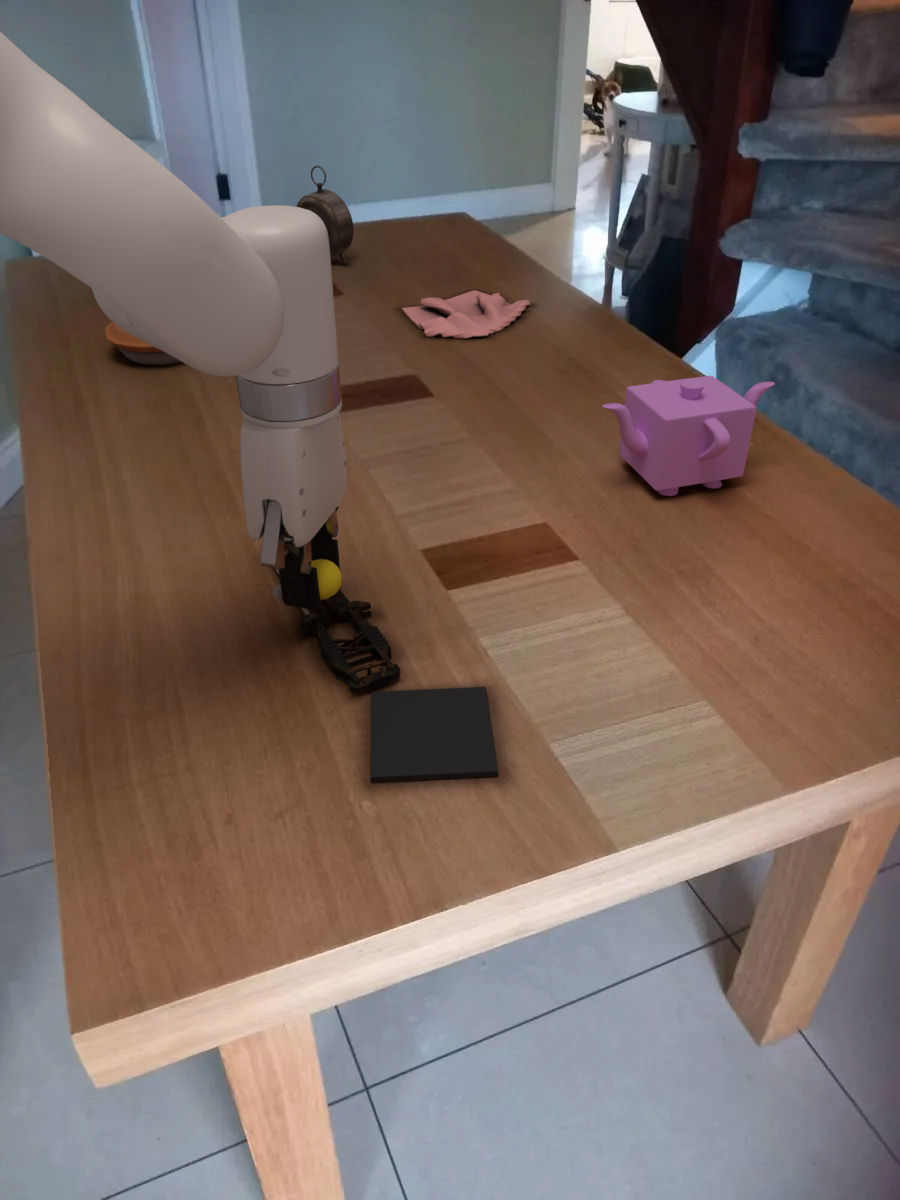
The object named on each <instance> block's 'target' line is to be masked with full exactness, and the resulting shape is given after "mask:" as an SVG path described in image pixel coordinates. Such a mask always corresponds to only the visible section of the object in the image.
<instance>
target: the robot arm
mask: <svg viewBox="0 0 900 1200" xmlns="http://www.w3.org/2000/svg"><path fill="white" fill-rule="evenodd" d="M0 234H1V235H3V236H5V237H6V238H9V239H11V240H13V241H15V242H17V243H19V244H20V245H22V246H25V248H28V249H30V250H31V251H33V252H35V253H36V254H38V255H40V256H42V257H43V258H45V259H47V260H49V261H50V262H52V263H53V264H55V265H56V266H58V267H60V268H61V269H63V270H64V271H65V272H67V273H68V274H70V275H71V276H73V277H74V278H76V279H77V280H79V281H81V282H82V283H83V284H85V285H86V286H87V287H89V288H91V290H92V293H93V297H94V299H95V301H96V303H97V305H98V306H99V308H100V309H101V311H102V312H103V313H104V314H105V316H106V318H108V319H109V320H110V321H111V323H112V322H113V323H115V324H116V325H117V326H119V327H120V328H121V329H123V330H124V331H126V332H127V333H129V334H131V335H133V336H135V337H137V338H138V339H140V340H142V341H144V342H146V343H147V344H149V345H151V346H153V347H155V348H157V349H160V350H162V351H164V352H165V353H167V354H169V355H171V356H173V357H175V358H176V359H178V360H180V361H182V362H181V363H184V364H185V365H187V366H188V367H190V368H192V369H194V370H195V371H197V372H201V373H204V374H206V375H209V376H214V377H215V376H216V377H235V382H236V389H237V395H238V402H239V407H240V408H239V409H240V413H241V416H242V418H243V421H242V422H241V426H240V450H239V452H240V475H241V476H240V477H241V488H242V501H243V509H244V518H245V525H246V530H247V535H248V538H249V539H250V540H251V541H260V540H261V539H262V546H261V554H260V565H261V566H262V567H267V568H271V569H275V570H276V569H277V570H279V574H278V577H279V583H280V584H279V585H281V591H282V599H283V601H282V602H283V604H284V605H285V606H287V607H294V608H299V609H301V608H304V609H310V610H318V608H319V607H320V605H321V603H322V602H321V600H320V593H319V584H318V575H317V568H314V567H312V561H314V560H318V559H326V560H329V561H331V562H333V563H334V564H335V565H336V566H337V567H338V568H339V570H340V571H341V563H340V551H339V542H338V539H336V538H337V537H338V535H339V530H340V529H339V527H340V526H339V522H338V516H337V513H338V510H339V505H340V503H341V502H342V500H343V499H344V498H345V495H346V493H347V490H348V489H347V487H348V470H347V469H348V468H347V467H348V466H347V456H346V447H345V439H344V432H343V425H342V419H341V413H340V412H341V410H342V408H343V400H342V399H343V398H342V386H341V375H340V362H339V351H338V339H337V326H336V315H335V313H336V311H335V299H334V288H333V287H334V285H333V275H332V273H333V272H332V260H331V259H332V258H331V257H330V246H329V238H328V232H327V229H326V227H325V225H324V222H323V221H322V220H321V218H320V217H319V216H318V215H316V214H315V213H314V212H312V211H310V210H307V209H303V208H300V207H296V206H293V205H283V204H282V205H281V204H280V205H279V204H278V205H277V204H275V205H271V204H270V205H258V206H252V207H251V206H250V207H246V208H242V209H238V210H236V211H234V212H232V213H229V214H227V215H226V216H220V215H219V214H217V212H216V211H215V210H213V209H212V208H211V207H210V206H209V205H208V204H207V203H206V202H205V201H204V200H203V199H202V198H201V197H200V196H199V195H198V194H197V193H196V192H194V191H193V189H191V188H190V187H189V186H188V185H187V184H186V183H184V182H183V181H182V180H181V179H180V178H179V177H177V176H176V175H175V174H174V173H172V172H171V171H170V170H169V169H168V168H167V167H166V166H164V165H163V164H162V163H161V162H159V161H158V160H157V159H155V157H153V156H152V155H150V154H149V152H147V151H146V150H144V149H143V148H141V147H140V146H139V145H138V144H136V143H135V142H134V141H132V140H131V139H130V138H129V137H128V136H126V135H125V134H124V133H122V132H121V131H120V130H119V129H117V128H116V127H115V126H114V125H112V124H111V123H110V122H108V121H107V120H106V119H105V118H104V117H103V116H101V115H100V114H99V113H97V112H96V111H95V110H94V109H93V108H92V107H91V106H89V104H87V103H86V102H85V101H84V100H83V99H81V98H80V97H79V96H78V95H77V94H75V93H74V92H73V91H72V90H70V88H68V87H67V86H66V85H64V84H63V83H62V82H60V81H59V80H58V79H56V78H55V77H53V76H52V75H51V74H50V73H48V72H47V71H46V70H45V69H43V68H42V67H40V66H39V65H38V64H37V63H35V61H33V60H32V59H31V58H30V57H28V55H27V54H25V53H24V52H23V51H22V50H21V49H20V48H19V47H17V45H16V44H15V43H13V41H11V40H10V39H9V38H8V37H7V36H6V35H5V34H4V33H3V32H2V31H0ZM262 537H263V538H262ZM334 538H335V539H334ZM286 544H290V545H295V546H296V547H299V556H298V555H297V554H295V553H291V552H290V551H287V546H286ZM320 602H321V603H320Z"/></svg>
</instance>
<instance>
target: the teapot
mask: <svg viewBox="0 0 900 1200" xmlns="http://www.w3.org/2000/svg"><path fill="white" fill-rule="evenodd" d="M775 385H776V382H774V381H761V382H758V383H756V384H754V385H753V386H752V387H750V388H749V389H748V390H747V392H746V393H745V394H744V396H742V395H740V394H739V393H737V392H736V391H735V390H733V389H732V388H730V387H729V386H727V385H726V384H725V383H724V382H722V381H720V380H719V379H718V378H716V377H714V375H705V376H696V377H690V378H682V379H674V380H667V381H666V380H664V379H655V380H653V381H651V383H644V384H637V385H630V386H627V387H626V389H625V397H624V404H623V403H622V404H621V403H617V402H615V403H614V402H613V403H612V402H611V403H610V402H609V403H605V404H602V406H601V407H602V408H604V409H606V410H608V411H611V412H612V413H613V414H614V415H615V416H616V418H617V422H618V428H619V434H620V440H619V441H620V442H619V449H618V450H619V451H618V455H619V456H620V457H621V458H622V459H623V460H624V461H625V462H626V463H627V464H628V465H630V467H631V468H632V469H633V470H634V471H635V472H636V473H637V474H638V475H639V476H640V477H642V479H643V480H644V481H646V482H647V484H648V485H649V486H651V488H652V489H654V491H656V492H657V493H658V494H660V495H663V496H667V497H673V496H677V494H679V489H680V487H687V486H692V485H693V486H694V485H699V484H701V485H702V486H703V487H705V488H708V489H719V488H721V487H722V486H723V483H722V481H723V480H724V481H725V480H729V479H730V480H731V479H733V478H735V479H736V478H741V477H744V474H745V473H744V472H745V468H746V463H747V457H748V453H749V448H750V443H751V438H752V433H753V429H754V423H755V418H756V414H757V409H758V408H757V406H756V405H757V404H758V401H759V400H760V398H761V396H762V395H764V393H765V392H767V391H768V390H769V389H770V388H772V387H774V386H775Z"/></svg>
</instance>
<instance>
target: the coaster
mask: <svg viewBox="0 0 900 1200" xmlns="http://www.w3.org/2000/svg"><path fill="white" fill-rule="evenodd" d="M487 691H488V689H487V687H486V686H473V687H472V686H471V687H470V686H469V687H450V688H427V689H406V690H404V689H403V690H385V691H382V690H381V691H380V690H379V691H374V692H371V693H370V755H369V756H370V759H369V760H370V763H369V764H370V767H369V771H370V772H369V777H370V778H369V779H370V783H390V782H412V781H413V782H414V781H430V780H433V781H434V780H450V779H454V780H455V779H471V778H472V779H473V778H490V777H494V778H495V777H498V775H499V769H498V762H497V754H496V748H495V740H494V734H493V733H494V732H493V725H492V720H491V711H490V706H489V699H488V692H487Z"/></svg>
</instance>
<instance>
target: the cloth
mask: <svg viewBox="0 0 900 1200" xmlns="http://www.w3.org/2000/svg"><path fill="white" fill-rule="evenodd" d="M530 305H531V303H530V300H529V299H523V300H520V299H519V300H516V301H515V302H514V303H509V302H507V301H506V299H505V298H504V297H503V295H502V293H500V292H494V293H493V294H488V293H485V292H481V291H478V290H471V291H468V292H465V293H462V294H459V295H456V296H452V297H449V298H447V299H443V298H440V297H425V298H424V297H423V298H421V299H420V305H419V306H407V307H401V310H402V312H404V313H405V315H406V316H407V317H408V318H409V320H411V322H413V323H414V324H415V325H416V326H417V327H418V328H419V329H421V330H424V334H425V336H426V337H428V338H437V337H439V338H453V339H461V340H465V339H470V338H484V337H489V335H492V334H495V333H497V332H500V331H502V330H503V329H504V330H505V328H506V327H509V326H510V325H511V323H512V322H515V321H516V320H517V318H519V317H521V315H522V313H523V312H524V311H526V308H527V307H528V306H530Z"/></svg>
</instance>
